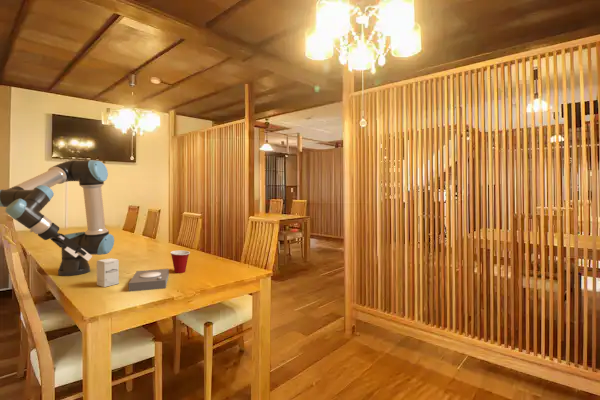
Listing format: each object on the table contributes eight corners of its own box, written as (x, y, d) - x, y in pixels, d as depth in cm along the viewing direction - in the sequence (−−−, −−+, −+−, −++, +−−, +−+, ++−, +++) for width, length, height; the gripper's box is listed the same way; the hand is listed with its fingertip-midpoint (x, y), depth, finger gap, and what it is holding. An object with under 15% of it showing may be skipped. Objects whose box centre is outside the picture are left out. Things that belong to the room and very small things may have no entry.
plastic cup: (183, 275, 182) (183, 253, 182) (166, 273, 184) (166, 253, 184) (193, 270, 192) (193, 250, 192) (177, 269, 195) (177, 249, 194)
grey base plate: (136, 278, 175) (136, 269, 174) (168, 275, 180) (168, 267, 180) (128, 291, 152) (128, 280, 152) (165, 288, 157) (165, 278, 157)
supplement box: (104, 287, 158) (103, 262, 158) (96, 285, 162) (96, 260, 162) (119, 283, 164) (119, 259, 164) (111, 281, 168) (111, 257, 168)
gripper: (27, 232, 146) (66, 260, 159) (48, 237, 132) (89, 266, 145) (41, 220, 150) (78, 247, 163) (63, 223, 136) (101, 253, 149)
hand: (83, 256), depth 154 cm, fingers open, 13 cm apart
